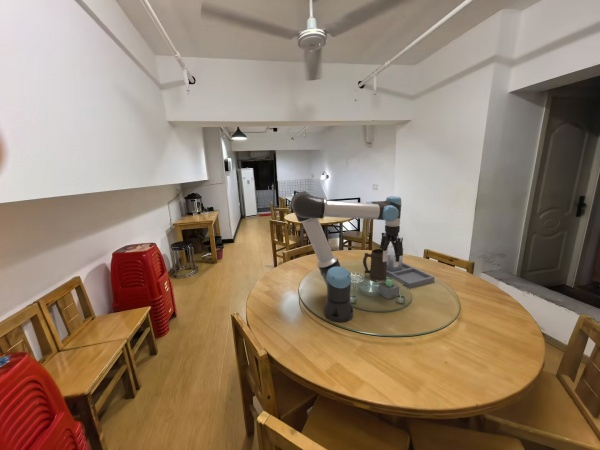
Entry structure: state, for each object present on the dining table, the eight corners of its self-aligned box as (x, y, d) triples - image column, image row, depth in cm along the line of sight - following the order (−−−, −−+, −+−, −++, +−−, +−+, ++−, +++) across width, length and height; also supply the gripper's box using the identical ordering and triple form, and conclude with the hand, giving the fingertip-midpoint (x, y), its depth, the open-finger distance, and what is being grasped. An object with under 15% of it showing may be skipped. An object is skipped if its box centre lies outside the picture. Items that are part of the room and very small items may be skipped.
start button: (393, 290, 135) (394, 281, 134) (388, 292, 134) (388, 282, 132) (389, 287, 138) (389, 278, 137) (383, 289, 137) (384, 279, 136)
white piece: (405, 271, 164) (406, 249, 160) (390, 274, 160) (392, 252, 156) (394, 265, 174) (395, 245, 170) (380, 268, 169) (381, 247, 166)
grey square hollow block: (398, 296, 134) (399, 286, 133) (387, 299, 132) (388, 289, 130) (389, 289, 142) (389, 280, 140) (378, 292, 139) (378, 283, 138)
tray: (434, 282, 149) (434, 277, 148) (409, 289, 142) (409, 283, 141) (396, 264, 179) (396, 259, 178) (374, 269, 171) (374, 264, 171)
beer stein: (385, 275, 161) (384, 247, 157) (389, 282, 151) (389, 253, 147) (362, 276, 163) (361, 249, 159) (365, 283, 153) (364, 254, 148)
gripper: (412, 228, 119) (409, 269, 124) (384, 220, 138) (382, 256, 143) (401, 230, 116) (398, 272, 122) (374, 222, 135) (372, 258, 140)
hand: (390, 263), depth 132 cm, fingers open, 8 cm apart
